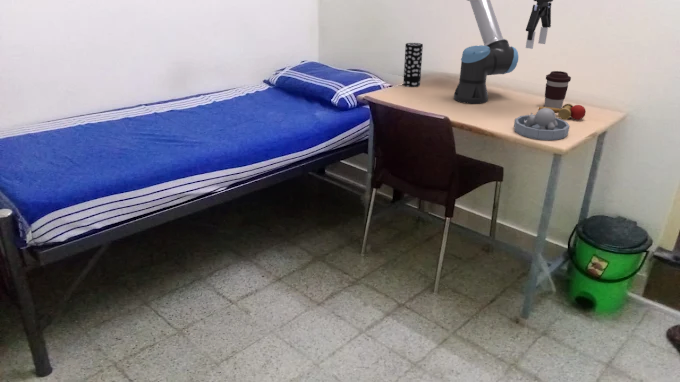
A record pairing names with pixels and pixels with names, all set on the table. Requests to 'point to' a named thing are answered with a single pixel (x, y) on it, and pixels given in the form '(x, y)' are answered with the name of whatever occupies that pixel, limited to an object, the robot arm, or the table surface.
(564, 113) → the kendama
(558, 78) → the coffee cup
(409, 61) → the spotted tube
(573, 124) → the table surface
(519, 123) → the round tray
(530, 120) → the round bodied animal figurine
